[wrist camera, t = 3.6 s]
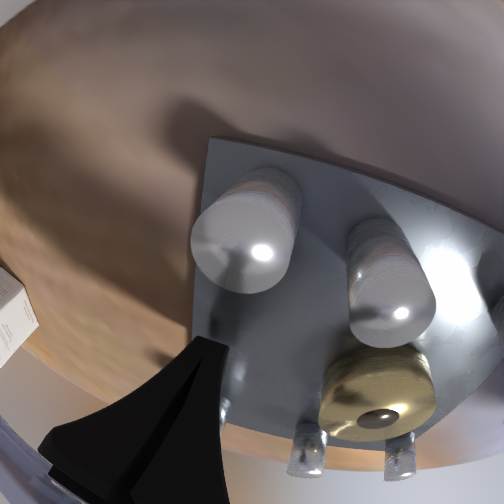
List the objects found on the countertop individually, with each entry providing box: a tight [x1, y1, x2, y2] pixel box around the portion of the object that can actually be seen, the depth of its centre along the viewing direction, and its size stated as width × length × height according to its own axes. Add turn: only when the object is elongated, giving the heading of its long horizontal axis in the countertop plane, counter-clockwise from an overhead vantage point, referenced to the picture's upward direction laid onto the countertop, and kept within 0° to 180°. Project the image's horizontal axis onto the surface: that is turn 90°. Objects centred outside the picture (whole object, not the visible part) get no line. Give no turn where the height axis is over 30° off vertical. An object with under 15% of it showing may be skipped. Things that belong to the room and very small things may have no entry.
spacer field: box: [191, 136, 504, 481], centre depth 10 cm, size 15×16×4 cm
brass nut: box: [318, 346, 436, 442], centre depth 10 cm, size 5×5×2 cm
